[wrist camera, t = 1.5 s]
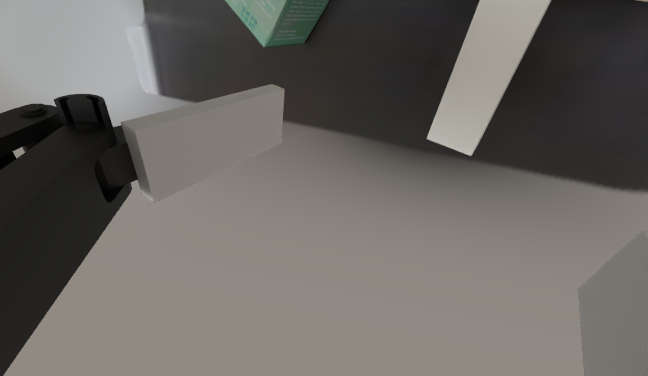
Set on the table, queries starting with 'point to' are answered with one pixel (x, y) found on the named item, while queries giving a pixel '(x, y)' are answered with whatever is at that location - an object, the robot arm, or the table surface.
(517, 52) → the lid
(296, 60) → the table surface
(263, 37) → the box
